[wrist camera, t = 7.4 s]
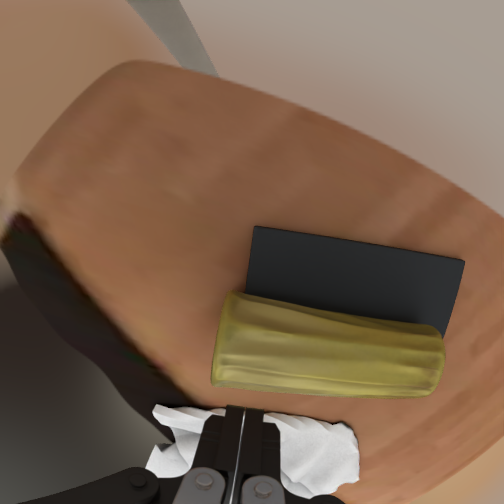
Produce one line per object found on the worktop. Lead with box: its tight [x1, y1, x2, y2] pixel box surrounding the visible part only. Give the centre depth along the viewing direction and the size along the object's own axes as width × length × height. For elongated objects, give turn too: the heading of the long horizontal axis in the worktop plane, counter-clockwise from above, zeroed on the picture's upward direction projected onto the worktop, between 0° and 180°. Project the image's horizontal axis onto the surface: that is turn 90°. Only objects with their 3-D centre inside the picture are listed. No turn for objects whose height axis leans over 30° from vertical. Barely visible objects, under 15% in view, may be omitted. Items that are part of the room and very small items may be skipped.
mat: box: [245, 226, 465, 339], centre depth 22 cm, size 11×16×1 cm
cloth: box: [145, 404, 360, 504], centre depth 25 cm, size 20×22×2 cm
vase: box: [211, 290, 445, 399], centre depth 19 cm, size 6×6×14 cm
